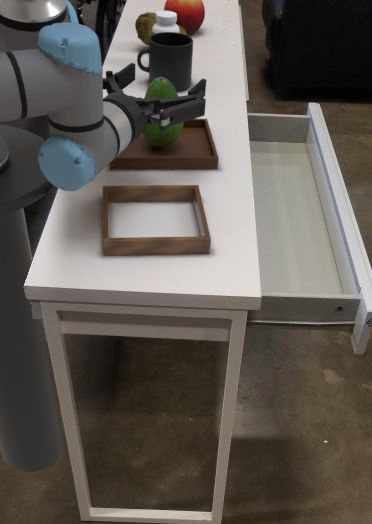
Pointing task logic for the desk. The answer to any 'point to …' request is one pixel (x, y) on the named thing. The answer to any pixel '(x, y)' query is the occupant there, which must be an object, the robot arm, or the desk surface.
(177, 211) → the desk surface
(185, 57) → the mug
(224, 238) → the desk surface
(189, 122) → the tray
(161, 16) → the pill bottle
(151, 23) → the potato
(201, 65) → the desk surface
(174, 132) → the avocado
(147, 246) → the wooden frame
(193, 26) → the fruit
